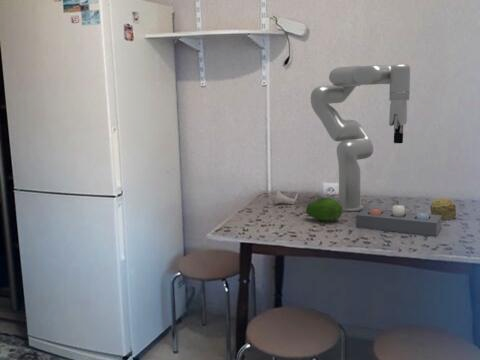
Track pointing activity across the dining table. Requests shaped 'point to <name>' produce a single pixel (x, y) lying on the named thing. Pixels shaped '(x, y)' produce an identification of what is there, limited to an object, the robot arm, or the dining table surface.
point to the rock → (443, 208)
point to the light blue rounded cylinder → (423, 216)
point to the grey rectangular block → (399, 222)
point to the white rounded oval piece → (398, 211)
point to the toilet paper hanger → (284, 199)
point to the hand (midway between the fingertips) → (398, 142)
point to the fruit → (324, 209)
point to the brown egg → (375, 211)
